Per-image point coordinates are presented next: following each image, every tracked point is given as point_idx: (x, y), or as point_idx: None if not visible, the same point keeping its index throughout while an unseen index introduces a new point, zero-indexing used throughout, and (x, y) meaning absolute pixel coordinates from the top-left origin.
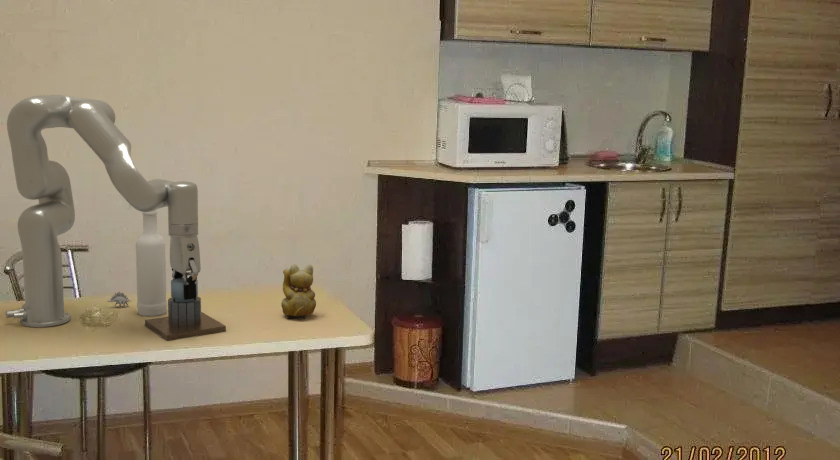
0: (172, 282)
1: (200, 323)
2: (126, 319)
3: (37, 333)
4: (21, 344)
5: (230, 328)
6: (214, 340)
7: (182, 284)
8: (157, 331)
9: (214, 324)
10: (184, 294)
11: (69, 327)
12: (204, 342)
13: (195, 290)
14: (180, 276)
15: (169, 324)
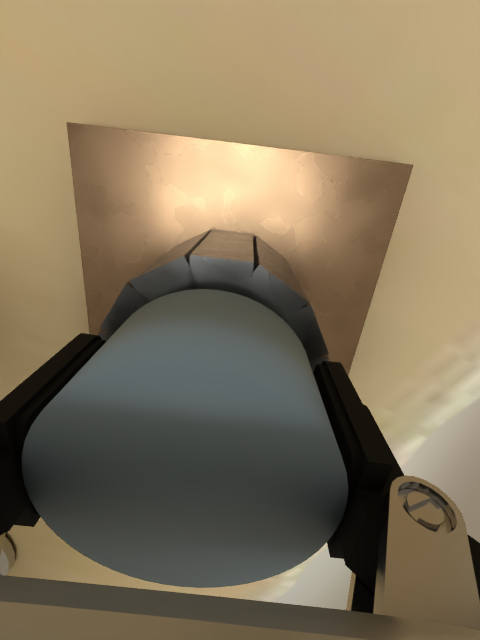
0: (189, 584)
1: (279, 253)
2: None
3: (61, 574)
4: None
5: (372, 110)
6: (460, 285)
7: (307, 553)
8: None
9: (344, 203)
10: None
11: (35, 525)
12: (445, 328)
13: (360, 409)
14: (2, 489)
15: None
